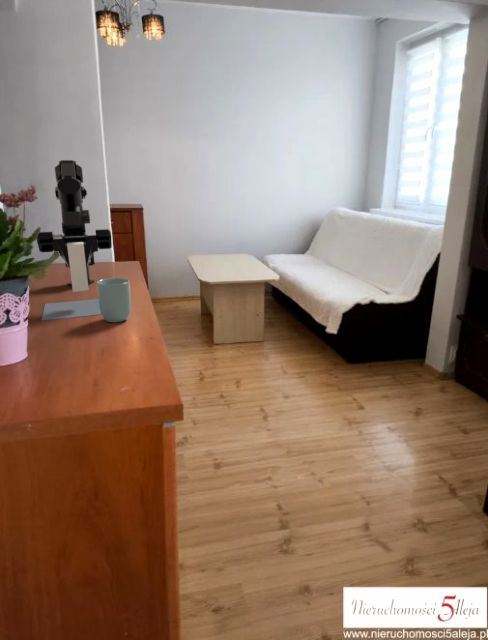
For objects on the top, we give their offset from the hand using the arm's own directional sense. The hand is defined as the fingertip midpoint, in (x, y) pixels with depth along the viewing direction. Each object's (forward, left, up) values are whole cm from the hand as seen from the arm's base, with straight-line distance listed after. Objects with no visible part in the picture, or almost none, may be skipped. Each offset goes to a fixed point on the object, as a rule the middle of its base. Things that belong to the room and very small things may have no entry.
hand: (78, 266), depth 120 cm
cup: (+7, +13, -12) cm, 19 cm away
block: (-1, -1, -7) cm, 7 cm away
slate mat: (-1, -1, -12) cm, 12 cm away
